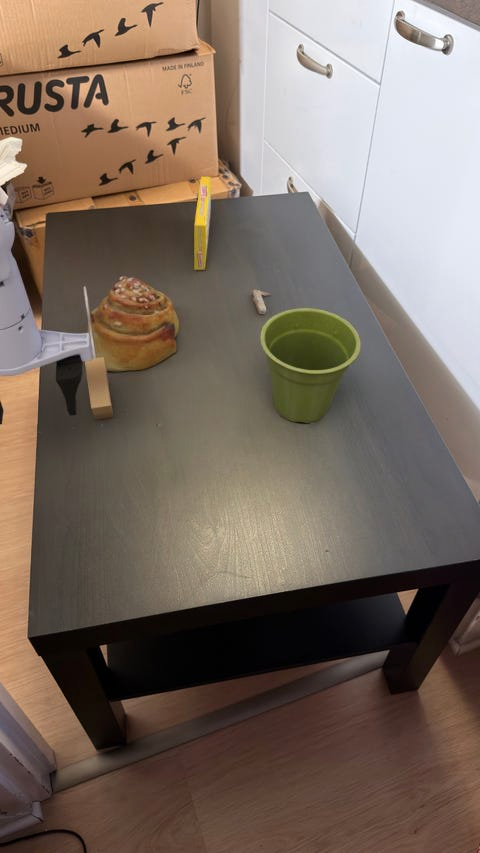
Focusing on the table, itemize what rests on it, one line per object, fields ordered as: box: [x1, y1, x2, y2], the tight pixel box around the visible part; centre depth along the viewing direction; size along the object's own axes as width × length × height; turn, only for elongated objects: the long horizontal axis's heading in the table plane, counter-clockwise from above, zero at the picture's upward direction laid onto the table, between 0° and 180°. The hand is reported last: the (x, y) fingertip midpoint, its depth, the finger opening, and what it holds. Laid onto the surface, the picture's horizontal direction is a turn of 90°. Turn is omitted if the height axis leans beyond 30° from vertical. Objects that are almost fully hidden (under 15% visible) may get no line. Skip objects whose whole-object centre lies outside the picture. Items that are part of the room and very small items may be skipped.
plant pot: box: [259, 307, 362, 424], centre depth 78 cm, size 12×12×11 cm
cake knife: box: [83, 286, 114, 421], centre depth 82 cm, size 19×2×3 cm, turn 13°
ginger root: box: [251, 289, 271, 315], centre depth 96 cm, size 6×1×3 cm
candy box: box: [193, 176, 212, 271], centre depth 104 cm, size 16×2×8 cm, turn 179°
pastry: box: [86, 276, 181, 373], centre depth 88 cm, size 13×15×8 cm
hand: (36, 413), depth 66 cm, fingers open, 7 cm apart
